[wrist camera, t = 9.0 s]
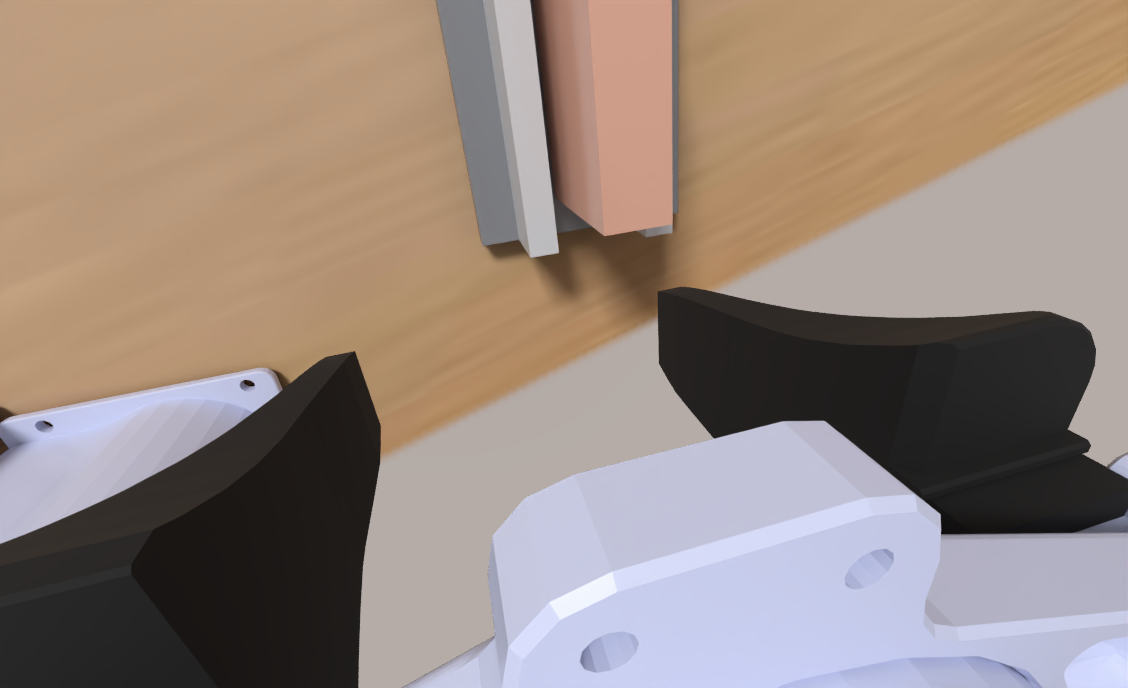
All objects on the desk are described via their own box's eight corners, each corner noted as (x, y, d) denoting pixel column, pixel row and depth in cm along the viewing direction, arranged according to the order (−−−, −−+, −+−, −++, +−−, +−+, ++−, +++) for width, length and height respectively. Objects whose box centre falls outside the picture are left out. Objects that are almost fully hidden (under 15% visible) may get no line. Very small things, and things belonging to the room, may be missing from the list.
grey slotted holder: (480, 239, 20) (490, 265, 17) (411, -125, 15) (407, -184, 12) (667, 207, 21) (708, 226, 18) (664, -137, 16) (720, -193, 13)
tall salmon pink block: (555, 197, 19) (604, 236, 13) (525, -71, 15) (577, -161, 10) (605, 190, 19) (673, 224, 14) (588, -75, 15) (671, -165, 10)
